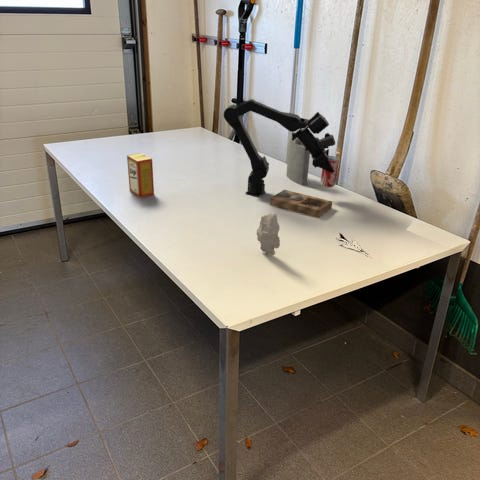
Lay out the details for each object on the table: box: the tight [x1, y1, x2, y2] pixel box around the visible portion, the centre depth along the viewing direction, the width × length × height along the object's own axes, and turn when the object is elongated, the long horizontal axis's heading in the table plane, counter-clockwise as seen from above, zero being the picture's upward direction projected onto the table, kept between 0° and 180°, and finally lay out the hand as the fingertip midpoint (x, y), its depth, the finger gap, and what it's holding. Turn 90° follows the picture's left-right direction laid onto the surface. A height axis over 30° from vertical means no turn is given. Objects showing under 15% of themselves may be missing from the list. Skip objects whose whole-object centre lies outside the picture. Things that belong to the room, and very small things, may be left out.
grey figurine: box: [256, 212, 281, 256], centre depth 155 cm, size 11×4×15 cm, turn 38°
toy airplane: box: [338, 232, 370, 255], centre depth 165 cm, size 8×21×2 cm, turn 29°
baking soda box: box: [126, 153, 155, 198], centre depth 201 cm, size 10×6×16 cm
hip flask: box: [285, 138, 311, 187], centre depth 220 cm, size 16×4×20 cm, turn 24°
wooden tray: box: [269, 189, 333, 219], centre depth 195 cm, size 22×12×3 cm, turn 57°
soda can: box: [320, 155, 340, 188], centre depth 198 cm, size 6×6×12 cm
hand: (333, 170), depth 197 cm, fingers closed on soda can, 6 cm apart
